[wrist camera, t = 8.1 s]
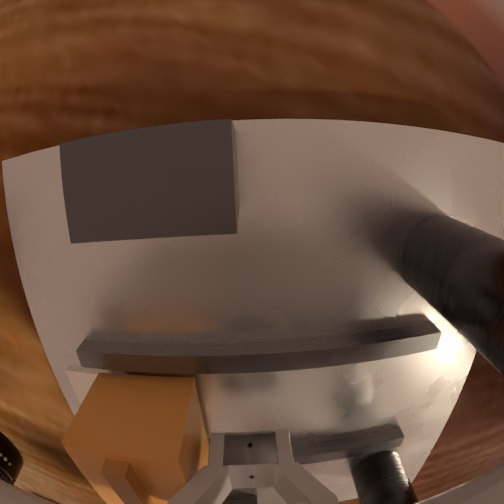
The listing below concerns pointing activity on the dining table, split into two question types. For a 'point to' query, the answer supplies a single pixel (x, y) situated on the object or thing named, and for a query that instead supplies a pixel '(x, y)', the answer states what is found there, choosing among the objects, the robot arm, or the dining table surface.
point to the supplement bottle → (9, 461)
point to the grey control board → (274, 279)
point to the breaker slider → (138, 437)
